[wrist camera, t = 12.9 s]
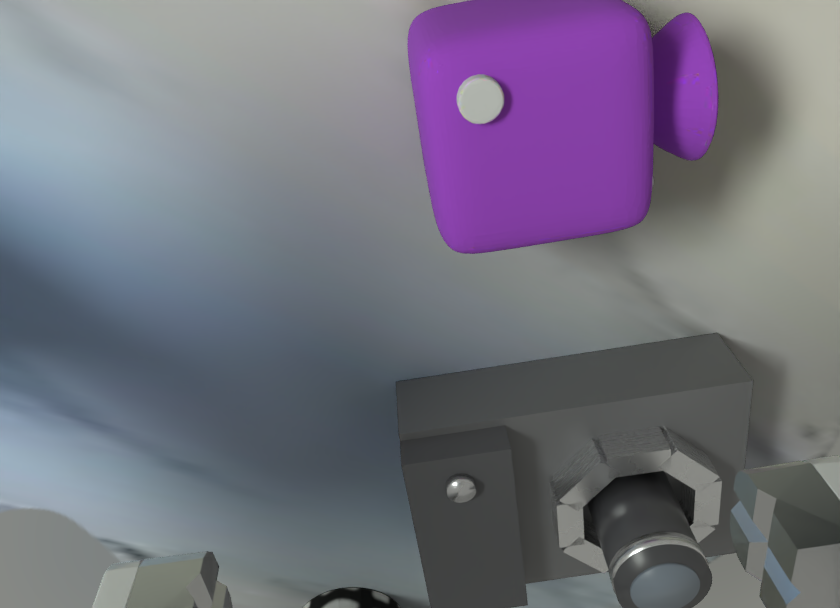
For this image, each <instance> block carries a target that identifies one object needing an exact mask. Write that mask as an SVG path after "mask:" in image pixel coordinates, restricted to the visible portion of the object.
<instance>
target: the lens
mask: <svg viewBox="0 0 840 608" xmlns="http://www.w3.org/2000/svg"><path fill="white" fill-rule="evenodd" d="M587 504H588V507H589V511H590V514H591V517H592V520H593V523H594V526H595V529H596V533H597V536H598V539H599V542H600V545H601V548H602V551H603V555H604V558H605V561H606V564H607V567H608V570H609V576H610V580H611V583H612V586H613V589H614V592H615V594H616V595H617V598H618V601H619V603H620V604H621V606H622V607H623V608H692V607H694V606H695V605H697V604H698V603H699V602H700V601H701V600H702V599H703V598H704V597H705V596H706V595H707V593H708V591H709V590H710V587H711V584H712V574H711V571H710V569H709V566H708V562H707V560H706V558H705V556H704V554H703V551H702V549H701V547H700V546H699V544H698V543H697V541H696V539H695V536H694V534H693V532H692V530H691V528H690V526H689V524H688V521H687V519H686V517H685V515H684V513H683V511H682V508H681V506H680V504H679V502H678V500H677V498H676V496H675V493H674V491H673V489H672V487H671V485H670V483H669V480H668V478H667V476H666V474H665V473H664V471H657V472H650V473H644V474H637V475H630V476H624V477H617V478H615V479H613V480H612V481H611V482H610V483H609V484H608V485H607V486H606V487H605V488H603V489H602V490H601V491H600V492H599V493H598V494H597V495H596V496H595V497H593V498H592V499H591V500H590V501H589V502H588V503H587Z"/></svg>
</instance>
